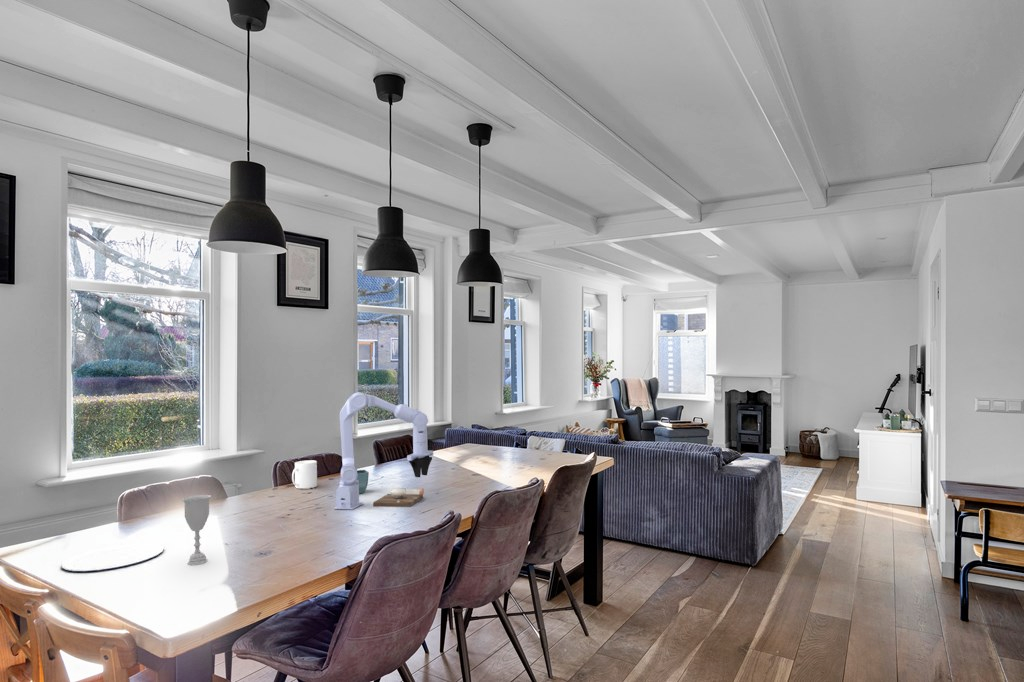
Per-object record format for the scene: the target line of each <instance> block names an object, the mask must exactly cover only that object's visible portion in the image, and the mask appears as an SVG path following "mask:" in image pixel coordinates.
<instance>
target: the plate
mask: <svg viewBox="0 0 1024 682" xmlns="http://www.w3.org/2000/svg"><path fill="white" fill-rule="evenodd" d="M121 547H140V548H147V549H146V550H148V549H150V550H152V552H151V553H150V554H149V555H148V556H145V557H144V558H142V559H138V560H135V561H132V562H128V563H123V564H122V563H121V564H119V565H113V566H107V567H106V566H105V567H97V568H79V569H77V568H78V567H77V568H74V567H71V565H70V564H71V562H72V561H73V560H75V559H77V558H79V557H81V556H83V555H87V554H90V553H93V552H97V551H102V550H106V549H112V548H121ZM164 549H165V548H164V546H163V545H161V544H158V543H151V542H134V543H125V544H123V543H121V544H117V545H115V544H114V545H111V546H110V545H109V546H105V547H100V548H96V549H92V550H88V551H85V552H82V553H80V554H79V553H78V554H76V555H73V556H71V557H69V558H67V559H65V560H64V561H63V562H62V563H61V565H60V566H61V569H63V570H65V571H67V572H73V573H74V572H75V573H85V572H86V573H87V572H88V573H89V572H90V573H91V572H100V571H107V570H113V569H114V570H115V569H120V568H125V567H129V566H132V565H136V564H140V563H143V562H146V561H150V560H151V559H153V558H156V557H157V556H160V554H162V553H163V552H164ZM150 550H149V551H150Z"/></svg>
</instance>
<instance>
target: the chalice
mask: <svg viewBox="0 0 1024 682" xmlns="http://www.w3.org/2000/svg"><path fill="white" fill-rule="evenodd" d="M211 497H212V495H210V494H200V495H199V494H198V495H191V496H187V497H184V498H182V502H183V503H184V518H185V521H186V523H187V526H188V527H189V529H190V530H191V531H192V532H194V533H195V534H194V538H193V539H194V541H195V543H194V544H193V546H194V547H195V548H194V549H195V551H194V552H193V553H192V554H191V555H190V557H189V559H188V561H187V565H188V566H197V565H201V564H202V565H203V564H205V563H207V562H208V559H207V556H206V555H205V553H204V552H202V551H200V546H201V545H202V544H201V543H200V539H201V536H200V532H201V530H203V529H204V527H205V525H206V523H207V521H208V517H209V515H210V499H211Z"/></svg>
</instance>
